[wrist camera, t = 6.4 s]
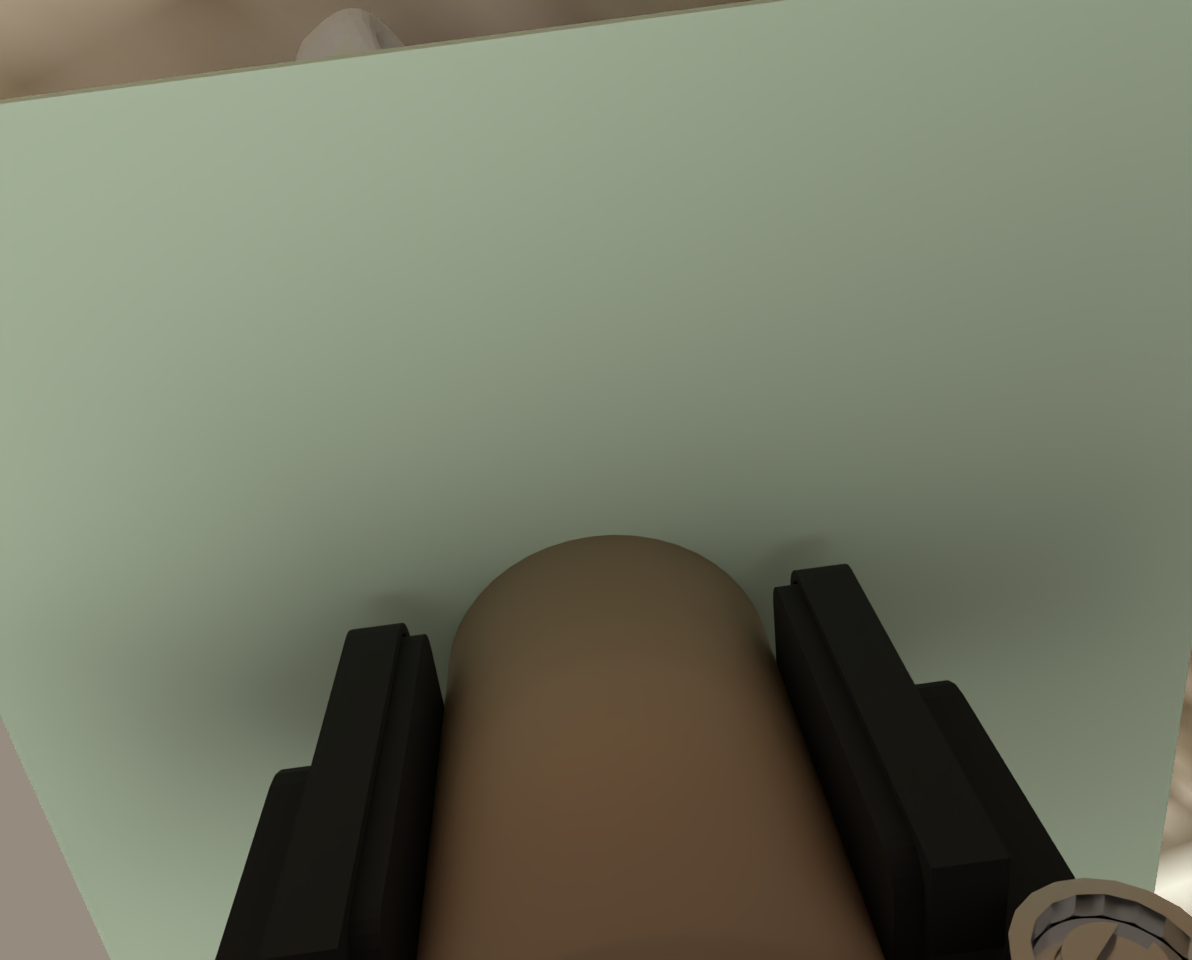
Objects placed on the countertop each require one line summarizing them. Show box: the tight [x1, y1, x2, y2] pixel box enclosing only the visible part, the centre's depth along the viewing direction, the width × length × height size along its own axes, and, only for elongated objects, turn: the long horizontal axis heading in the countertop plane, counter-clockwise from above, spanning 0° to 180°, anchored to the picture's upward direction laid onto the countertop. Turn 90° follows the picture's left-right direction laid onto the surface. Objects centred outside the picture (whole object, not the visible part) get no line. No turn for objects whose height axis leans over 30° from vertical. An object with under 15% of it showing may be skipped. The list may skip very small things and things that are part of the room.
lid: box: [0, 0, 1192, 960], centre depth 10 cm, size 13×13×6 cm
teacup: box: [296, 8, 405, 61], centre depth 23 cm, size 14×11×8 cm
